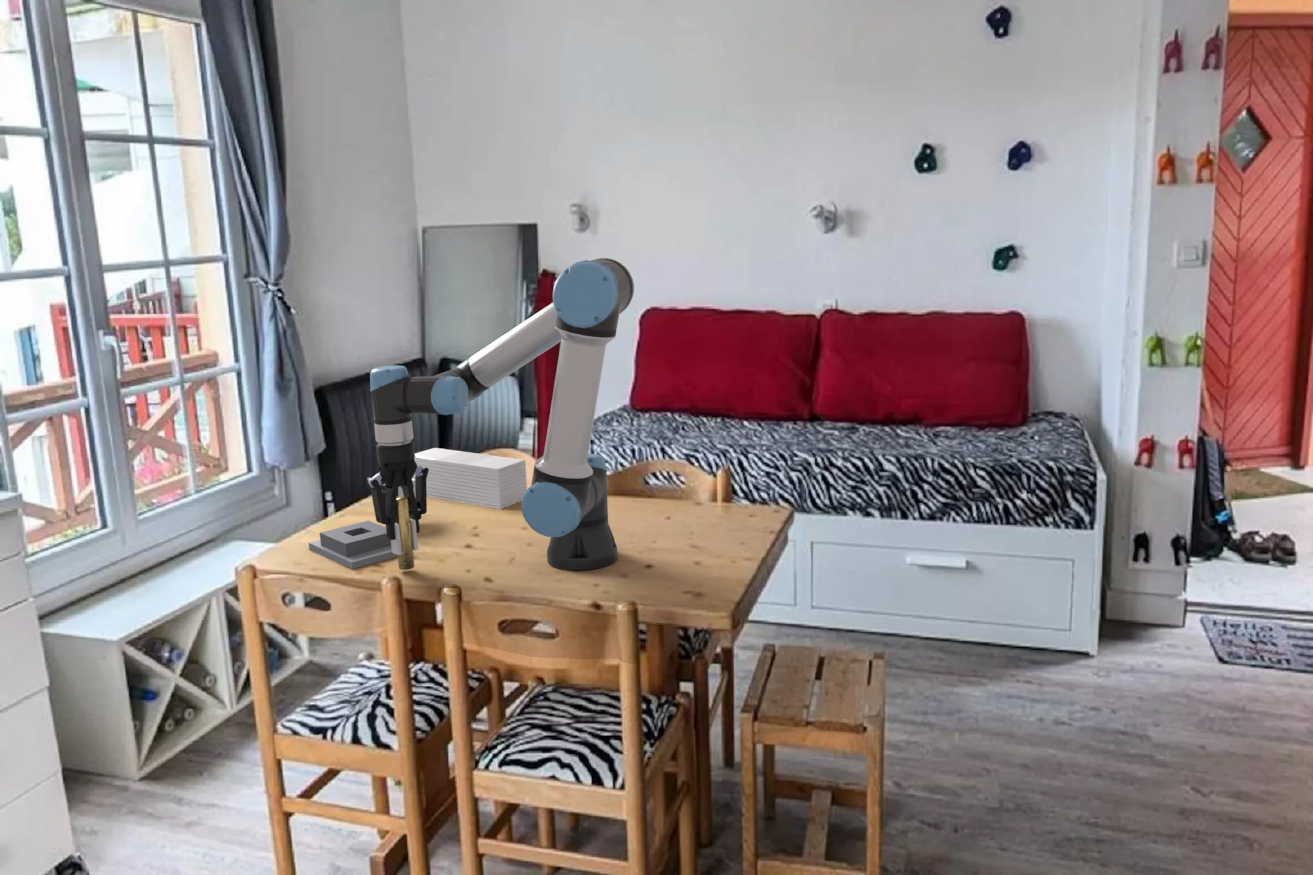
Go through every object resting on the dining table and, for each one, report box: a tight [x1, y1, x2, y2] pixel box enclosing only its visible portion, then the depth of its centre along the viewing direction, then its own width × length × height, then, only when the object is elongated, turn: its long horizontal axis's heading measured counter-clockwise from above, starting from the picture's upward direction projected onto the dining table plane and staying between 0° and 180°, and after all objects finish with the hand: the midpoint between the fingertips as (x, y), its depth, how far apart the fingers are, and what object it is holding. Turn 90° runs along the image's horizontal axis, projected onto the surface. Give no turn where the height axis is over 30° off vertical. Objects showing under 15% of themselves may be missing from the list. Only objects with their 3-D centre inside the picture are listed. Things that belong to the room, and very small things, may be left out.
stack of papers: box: [413, 447, 528, 510], centre depth 273 cm, size 32×11×11 cm, turn 58°
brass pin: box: [395, 496, 415, 571], centre depth 216 cm, size 3×3×15 cm
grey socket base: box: [308, 520, 398, 570], centre depth 231 cm, size 20×14×4 cm
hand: (405, 551), depth 217 cm, fingers closed on brass pin, 3 cm apart
